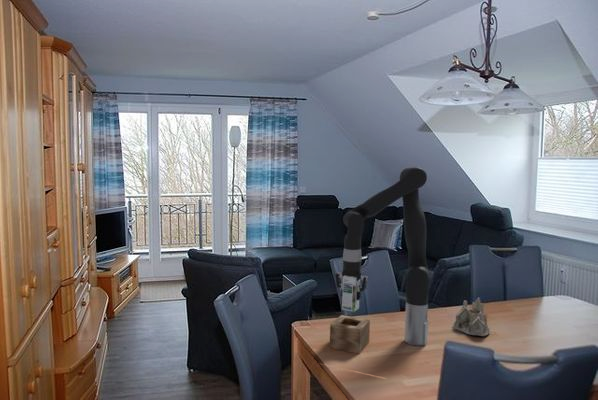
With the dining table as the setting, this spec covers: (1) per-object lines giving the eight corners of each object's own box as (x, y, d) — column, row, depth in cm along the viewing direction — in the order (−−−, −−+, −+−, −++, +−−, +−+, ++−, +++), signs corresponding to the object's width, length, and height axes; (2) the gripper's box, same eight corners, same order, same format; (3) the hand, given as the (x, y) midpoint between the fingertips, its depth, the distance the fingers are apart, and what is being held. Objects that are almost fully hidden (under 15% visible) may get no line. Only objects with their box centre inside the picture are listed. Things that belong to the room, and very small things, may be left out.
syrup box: (341, 309, 188) (342, 275, 187) (346, 306, 194) (347, 273, 193) (354, 312, 186) (355, 277, 185) (359, 308, 191) (360, 274, 190)
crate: (369, 342, 193) (369, 319, 192) (359, 353, 181) (360, 329, 180) (340, 337, 198) (341, 315, 198) (329, 347, 187) (330, 324, 186)
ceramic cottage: (455, 323, 219) (456, 292, 218) (491, 329, 211) (493, 298, 210) (448, 333, 206) (450, 301, 205) (487, 340, 198) (488, 307, 196)
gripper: (371, 259, 188) (370, 299, 189) (339, 255, 195) (338, 294, 196) (365, 262, 181) (364, 303, 183) (332, 258, 188) (331, 298, 189)
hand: (350, 298), depth 189 cm, fingers closed on syrup box, 5 cm apart
